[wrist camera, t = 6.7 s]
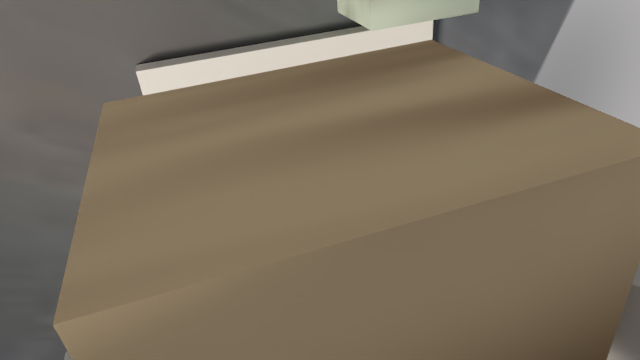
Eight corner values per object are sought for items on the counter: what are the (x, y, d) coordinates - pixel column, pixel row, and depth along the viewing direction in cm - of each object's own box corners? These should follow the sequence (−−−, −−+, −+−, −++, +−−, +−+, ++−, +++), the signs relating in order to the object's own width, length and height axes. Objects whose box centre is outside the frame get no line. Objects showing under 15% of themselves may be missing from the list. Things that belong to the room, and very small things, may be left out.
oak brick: (103, 103, 8) (53, 323, 3) (431, 39, 9) (679, 145, 5) (210, 400, 12) (245, 664, 8) (423, 326, 13) (553, 517, 9)
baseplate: (136, 64, 25) (135, 71, 24) (423, 15, 28) (433, 19, 28) (207, 302, 34) (209, 314, 33) (415, 242, 38) (422, 251, 37)
